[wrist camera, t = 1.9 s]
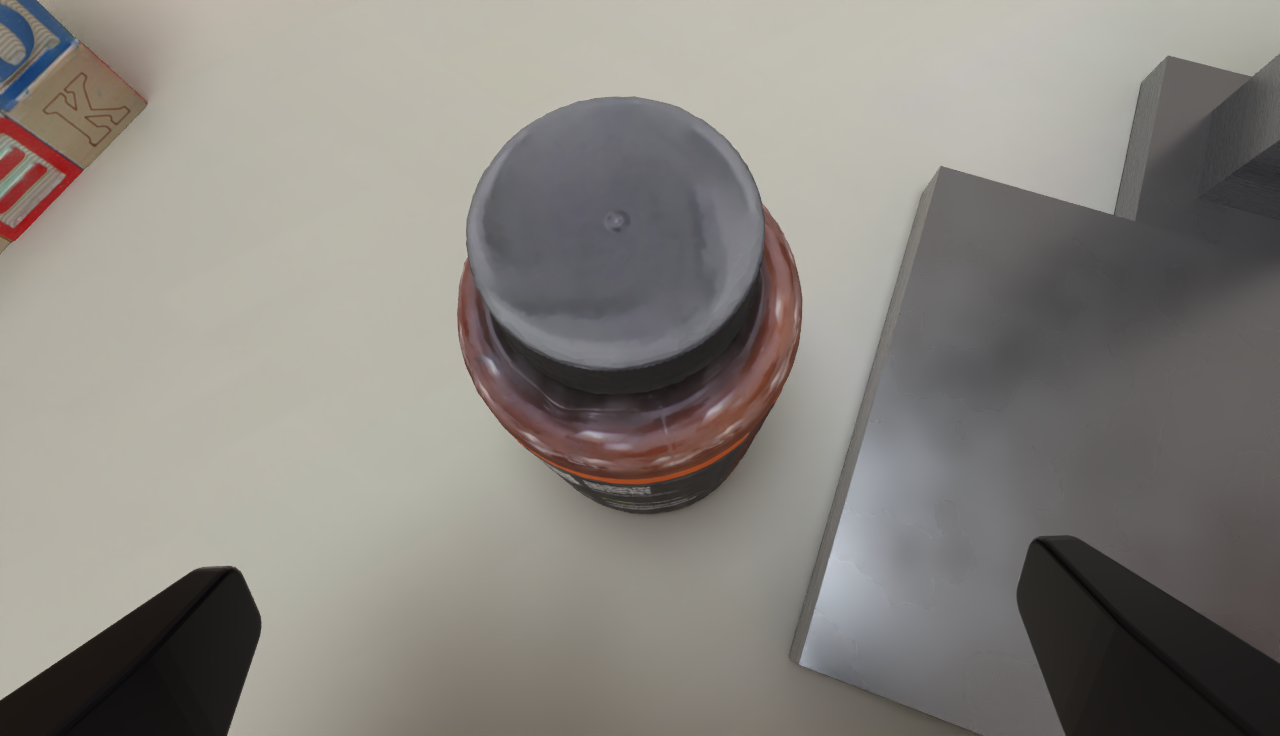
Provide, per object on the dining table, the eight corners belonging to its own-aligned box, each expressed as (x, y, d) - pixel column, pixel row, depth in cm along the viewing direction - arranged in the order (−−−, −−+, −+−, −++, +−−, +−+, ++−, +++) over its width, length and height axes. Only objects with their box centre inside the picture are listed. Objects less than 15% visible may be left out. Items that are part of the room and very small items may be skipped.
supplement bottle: (695, 279, 21) (726, -32, 10) (789, 461, 20) (943, 322, 9) (509, 361, 21) (333, 126, 10) (591, 554, 19) (489, 530, 8)
